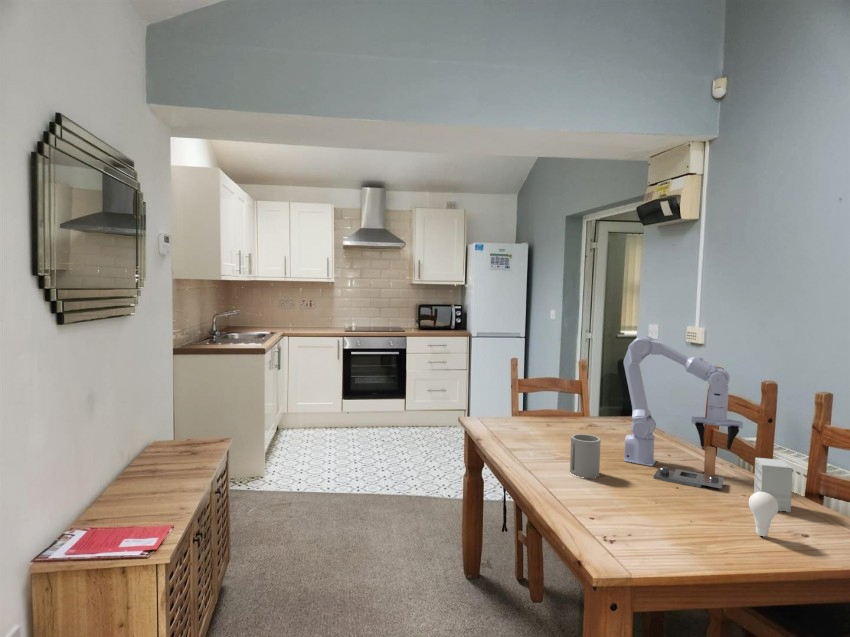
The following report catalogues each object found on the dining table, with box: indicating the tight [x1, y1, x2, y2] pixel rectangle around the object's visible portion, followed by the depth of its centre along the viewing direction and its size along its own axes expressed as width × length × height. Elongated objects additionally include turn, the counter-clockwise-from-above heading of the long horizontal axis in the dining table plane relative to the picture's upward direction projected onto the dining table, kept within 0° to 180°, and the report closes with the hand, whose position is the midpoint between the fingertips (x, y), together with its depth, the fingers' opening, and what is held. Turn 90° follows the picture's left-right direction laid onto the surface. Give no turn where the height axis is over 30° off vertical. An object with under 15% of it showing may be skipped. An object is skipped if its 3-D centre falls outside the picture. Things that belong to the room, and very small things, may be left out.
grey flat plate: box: [653, 466, 724, 489], centre depth 166 cm, size 19×8×3 cm, turn 57°
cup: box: [569, 433, 601, 479], centre depth 171 cm, size 9×9×12 cm
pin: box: [703, 445, 717, 476], centre depth 172 cm, size 3×3×9 cm
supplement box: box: [753, 457, 794, 513], centre depth 147 cm, size 7×7×13 cm
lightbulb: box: [748, 492, 779, 538], centre depth 128 cm, size 6×6×11 cm
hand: (715, 447), depth 171 cm, fingers open, 7 cm apart
